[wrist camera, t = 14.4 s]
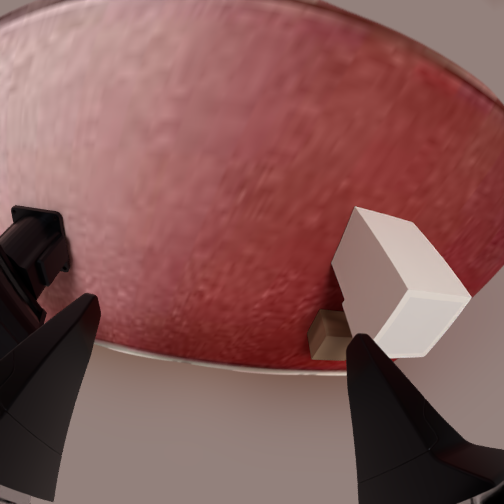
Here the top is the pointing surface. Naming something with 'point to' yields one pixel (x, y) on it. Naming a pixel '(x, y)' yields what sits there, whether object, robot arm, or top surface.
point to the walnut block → (329, 335)
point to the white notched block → (395, 284)
